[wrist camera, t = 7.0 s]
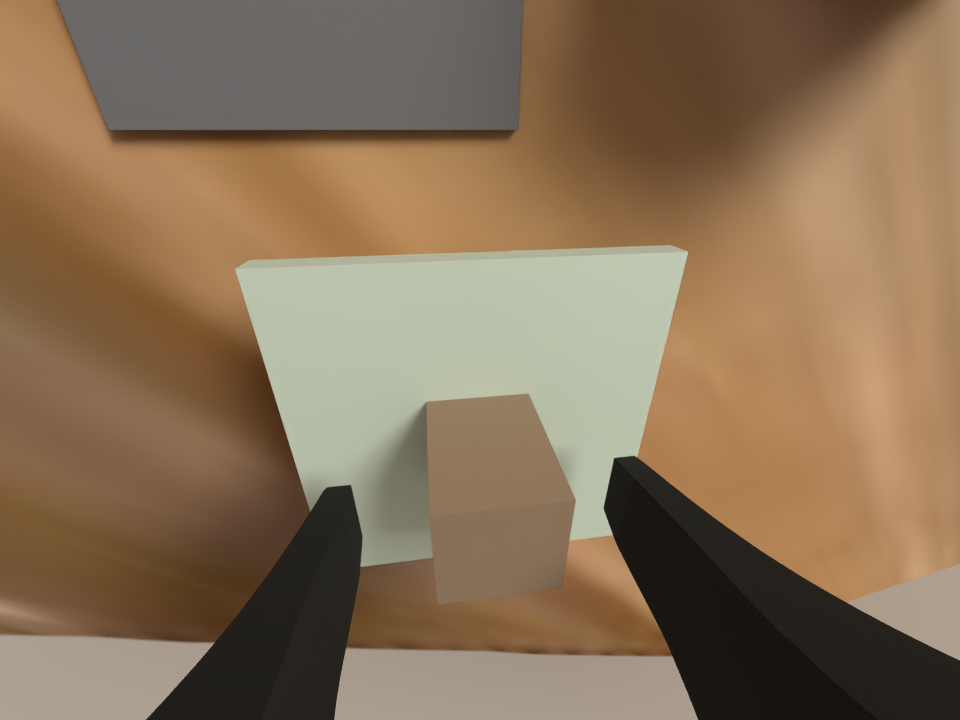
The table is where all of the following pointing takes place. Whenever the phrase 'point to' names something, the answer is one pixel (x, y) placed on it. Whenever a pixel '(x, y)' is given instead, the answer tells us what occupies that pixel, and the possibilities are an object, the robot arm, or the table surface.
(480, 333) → the lid
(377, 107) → the mat
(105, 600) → the table surface
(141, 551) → the table surface
